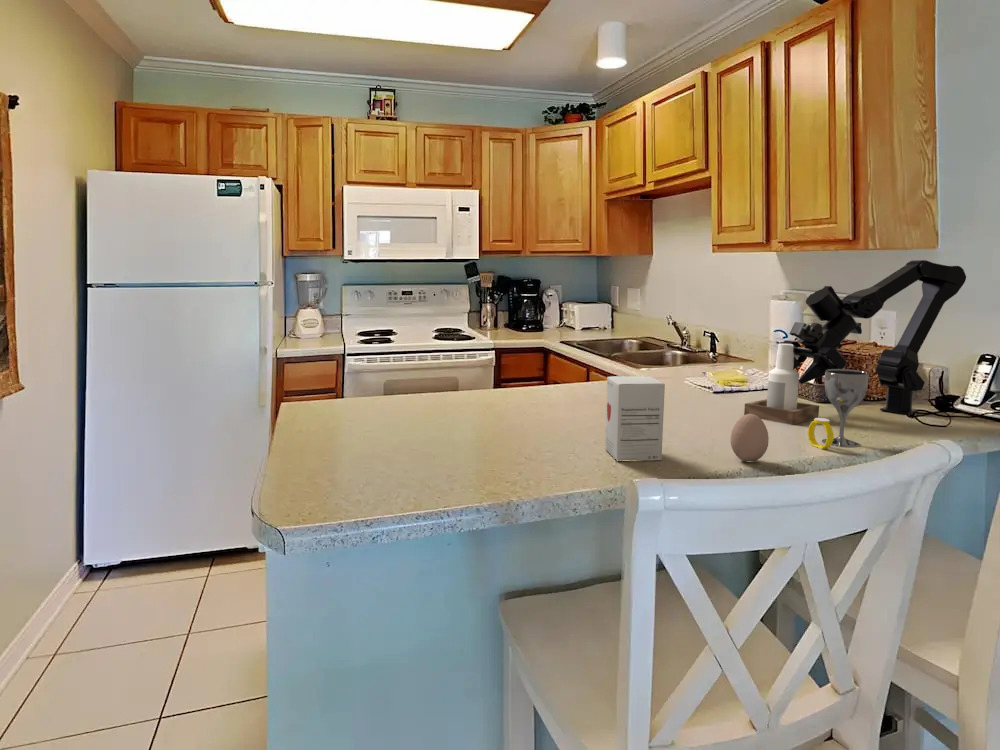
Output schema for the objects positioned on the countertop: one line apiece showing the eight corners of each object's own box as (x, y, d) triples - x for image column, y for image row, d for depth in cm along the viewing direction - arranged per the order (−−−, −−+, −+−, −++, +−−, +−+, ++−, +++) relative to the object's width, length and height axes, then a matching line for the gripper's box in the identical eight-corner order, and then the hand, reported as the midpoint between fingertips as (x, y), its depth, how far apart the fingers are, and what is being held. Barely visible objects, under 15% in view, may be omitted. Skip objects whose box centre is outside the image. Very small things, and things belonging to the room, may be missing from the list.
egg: (728, 455, 125) (731, 409, 124) (765, 458, 123) (768, 411, 122) (730, 465, 119) (733, 416, 118) (768, 468, 117) (772, 418, 116)
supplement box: (603, 449, 129) (606, 375, 127) (647, 448, 130) (650, 375, 128) (615, 462, 120) (618, 383, 118) (662, 461, 121) (666, 382, 119)
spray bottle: (769, 412, 164) (774, 342, 162) (798, 416, 161) (803, 343, 158) (763, 417, 159) (767, 344, 156) (793, 421, 155) (798, 346, 152)
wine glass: (868, 448, 130) (875, 375, 128) (825, 446, 132) (831, 374, 130) (855, 439, 138) (861, 369, 136) (815, 437, 140) (820, 368, 137)
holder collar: (771, 409, 168) (771, 398, 168) (818, 417, 159) (819, 405, 158) (744, 415, 161) (744, 403, 160) (792, 424, 151) (792, 412, 151)
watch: (835, 452, 129) (839, 423, 128) (822, 452, 128) (826, 424, 127) (814, 442, 135) (818, 415, 133) (803, 443, 134) (806, 415, 133)
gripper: (789, 308, 166) (747, 352, 166) (839, 313, 148) (792, 361, 148) (814, 339, 169) (772, 381, 168) (866, 347, 151) (820, 394, 150)
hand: (788, 379), depth 159 cm, fingers open, 9 cm apart
